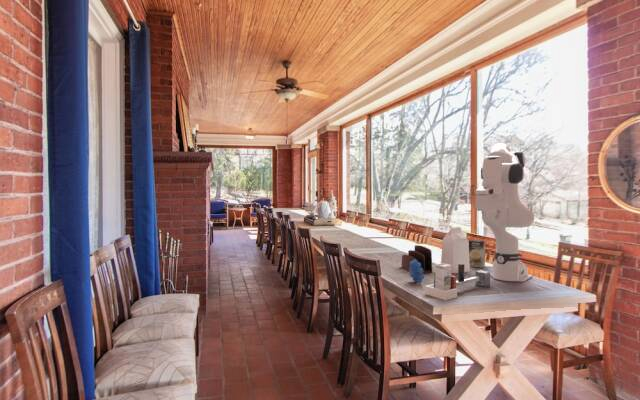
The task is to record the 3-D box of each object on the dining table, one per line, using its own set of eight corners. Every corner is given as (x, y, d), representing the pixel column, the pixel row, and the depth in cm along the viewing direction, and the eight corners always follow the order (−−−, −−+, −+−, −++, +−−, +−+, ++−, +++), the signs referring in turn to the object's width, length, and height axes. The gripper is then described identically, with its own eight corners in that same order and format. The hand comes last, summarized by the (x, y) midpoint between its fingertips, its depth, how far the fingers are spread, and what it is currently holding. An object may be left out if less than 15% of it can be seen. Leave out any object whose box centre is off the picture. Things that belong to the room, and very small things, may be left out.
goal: (436, 291, 198) (436, 283, 198) (457, 297, 188) (457, 288, 188) (425, 294, 194) (425, 285, 193) (445, 300, 184) (445, 291, 183)
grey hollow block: (480, 283, 213) (480, 270, 212) (490, 285, 208) (490, 272, 208) (475, 284, 210) (475, 271, 210) (484, 287, 206) (485, 273, 205)
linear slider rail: (472, 283, 210) (472, 259, 209) (484, 286, 204) (484, 262, 204) (441, 291, 196) (441, 265, 196) (453, 294, 190) (453, 268, 190)
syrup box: (440, 292, 196) (440, 262, 196) (451, 295, 192) (451, 264, 191) (433, 294, 193) (433, 264, 192) (444, 297, 188) (444, 266, 187)
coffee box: (467, 266, 255) (468, 240, 254) (470, 264, 260) (470, 239, 260) (483, 267, 250) (483, 241, 249) (485, 265, 255) (485, 240, 255)
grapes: (403, 280, 220) (403, 258, 219) (413, 279, 222) (413, 257, 221) (415, 285, 209) (415, 262, 208) (426, 284, 211) (426, 261, 211)
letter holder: (415, 266, 257) (415, 243, 257) (432, 272, 238) (432, 248, 238) (401, 267, 255) (401, 244, 254) (417, 274, 236) (417, 249, 235)
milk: (457, 267, 251) (457, 225, 249) (469, 271, 240) (470, 227, 239) (440, 269, 247) (440, 226, 246) (452, 273, 236) (452, 228, 235)
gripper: (498, 189, 200) (498, 217, 201) (473, 190, 189) (472, 220, 190) (510, 190, 195) (510, 218, 196) (485, 190, 184) (484, 221, 184)
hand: (491, 219), depth 193 cm, fingers open, 8 cm apart
